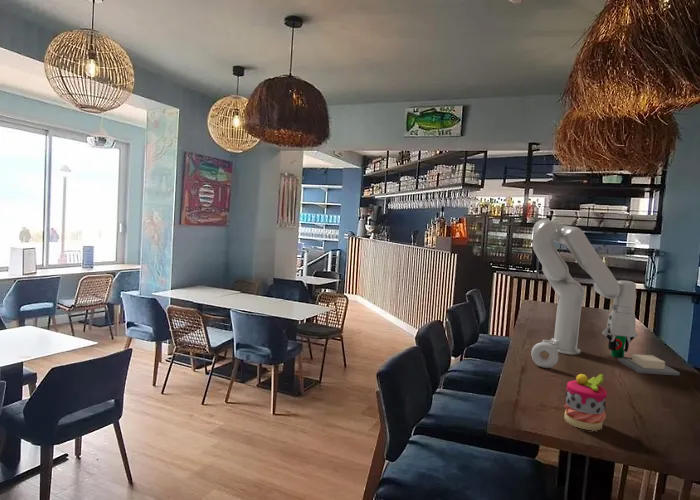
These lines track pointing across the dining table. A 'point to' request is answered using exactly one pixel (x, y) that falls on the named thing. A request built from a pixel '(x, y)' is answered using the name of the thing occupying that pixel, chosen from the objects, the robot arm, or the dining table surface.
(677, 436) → the dining table surface
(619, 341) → the soda can
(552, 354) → the donut
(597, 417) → the cake
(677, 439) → the dining table surface
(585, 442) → the dining table surface
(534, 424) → the dining table surface
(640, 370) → the build base
